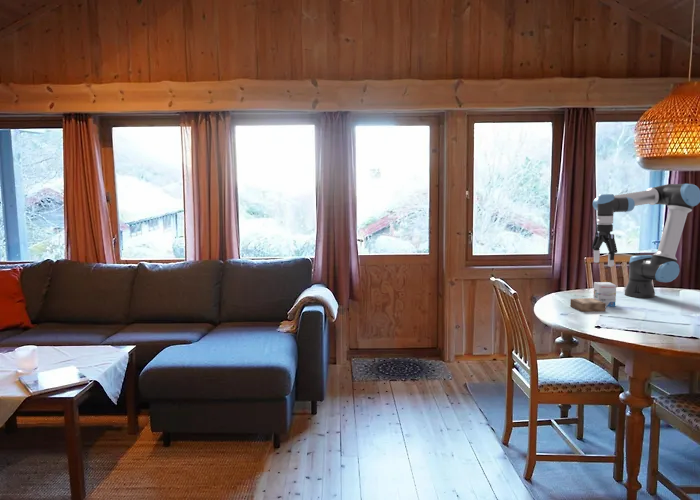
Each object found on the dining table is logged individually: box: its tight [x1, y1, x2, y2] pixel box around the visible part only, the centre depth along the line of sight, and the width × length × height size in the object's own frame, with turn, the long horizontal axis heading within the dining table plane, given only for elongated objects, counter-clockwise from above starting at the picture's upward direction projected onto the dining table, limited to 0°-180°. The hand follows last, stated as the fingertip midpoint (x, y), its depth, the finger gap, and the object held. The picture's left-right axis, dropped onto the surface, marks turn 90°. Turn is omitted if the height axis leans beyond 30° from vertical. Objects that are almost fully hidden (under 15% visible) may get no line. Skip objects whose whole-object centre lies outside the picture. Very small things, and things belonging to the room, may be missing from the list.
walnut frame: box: [569, 297, 607, 313], centre depth 265 cm, size 12×12×4 cm
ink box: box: [592, 281, 617, 308], centre depth 273 cm, size 8×8×12 cm
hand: (603, 264), depth 271 cm, fingers open, 13 cm apart
